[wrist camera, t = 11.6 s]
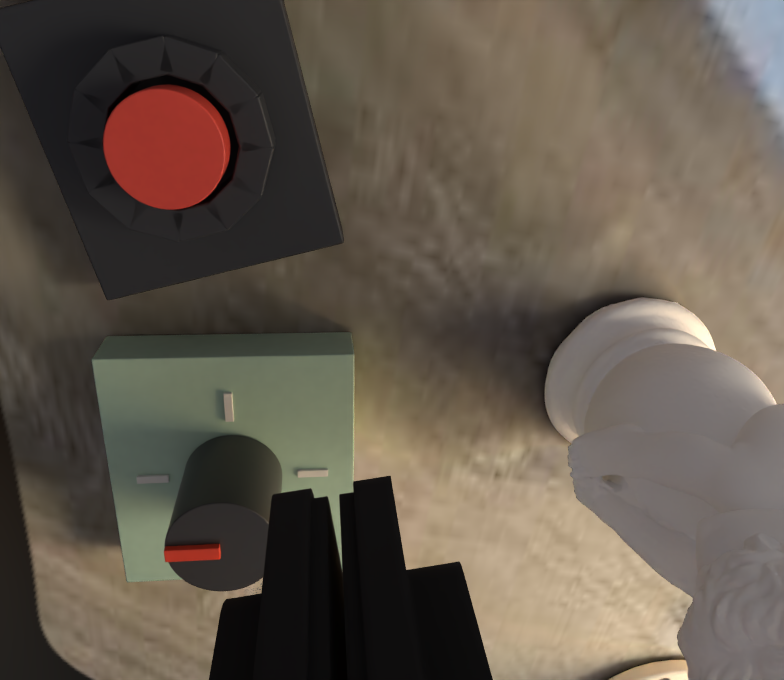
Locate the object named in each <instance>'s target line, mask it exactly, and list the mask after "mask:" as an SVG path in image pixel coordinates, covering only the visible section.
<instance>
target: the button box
mask: <svg viewBox="0 0 784 680" xmlns="http://www.w3.org/2000/svg"><path fill="white" fill-rule="evenodd" d="M0 48H1V50H2V52H3V55H4V57H5V59H6V62H7V64H8V67H9V69H10V71H11V74H12V76H13V78H14V81H15V83H16V86H17V88H18V90H19V93H20V95H21V97H22V100H23V102H24V105H25V107H26V109H27V112H28V114H29V116H30V119H31V121H32V124H33V126H34V128H35V131H36V133H37V135H38V138H39V140H40V142H41V145H42V147H43V150H44V152H45V154H46V157H47V159H48V161H49V164H50V166H51V169H52V171H53V173H54V176H55V178H56V180H57V183H58V185H59V188H60V190H61V192H62V195H63V197H64V199H65V202H66V204H67V207H68V209H69V211H70V214H71V216H72V218H73V221H74V223H75V226H76V228H77V230H78V233H79V235H80V237H81V240H82V242H83V245H84V247H85V249H86V252H87V254H88V256H89V259H90V261H91V264H92V266H93V268H94V271H95V273H96V275H97V278H98V280H99V282H100V285H101V287H102V290H103V292H104V294H105V297H106V299H107V300H113V299H117V298H121V297H125V296H129V295H134V294H138V293H142V292H146V291H150V290H154V289H158V288H162V287H166V286H170V285H174V284H179V283H183V282H187V281H191V280H195V279H199V278H203V277H207V276H211V275H215V274H219V273H224V272H228V271H232V270H236V269H240V268H244V267H248V266H252V265H256V264H260V263H264V262H269V261H273V260H277V259H281V258H285V257H289V256H293V255H297V254H301V253H305V252H309V251H314V250H318V249H322V248H326V247H330V246H334V245H338V244H342V243H344V237H343V231H342V226H341V222H340V218H339V214H338V210H337V207H336V203H335V199H334V195H333V191H332V187H331V183H330V179H329V175H328V171H327V168H326V164H325V160H324V156H323V152H322V148H321V144H320V140H319V136H318V132H317V129H316V125H315V121H314V117H313V113H312V109H311V105H310V101H309V97H308V93H307V90H306V86H305V82H304V78H303V74H302V70H301V66H300V62H299V58H298V54H297V51H296V47H295V43H294V39H293V35H292V31H291V27H290V23H289V19H288V15H287V12H286V8H285V4H284V0H31V1H27V2H23V3H19V4H15V5H11V6H7V7H2V8H0ZM166 84H170V85H178V86H182V87H185V88H188V89H191V90H193V91H195V92H197V93H199V94H200V95H202V96H203V97H204V98H206V99H207V100H208V101H209V102H210V103H211V104H212V105H213V106H214V107H215V108H216V109H217V111H218V112H219V113H220V115H221V116H222V118H223V120H224V122H225V124H226V127H227V130H228V133H229V137H230V158H229V162H228V166H227V168H226V171H225V173H224V175H223V176H222V178H221V180H220V182H219V183H218V185H217V186H216V188H215V189H214V190H213V192H212V193H211V194H210V195H209V196H208V197H206V198H205V199H204V200H202V201H201V202H199V203H197V204H195V205H193V206H190V207H187V208H183V209H176V210H166V209H159V208H154V207H151V206H148V205H146V204H144V203H141V202H139V201H138V200H136V199H135V198H133V197H132V196H130V195H129V194H128V193H127V192H125V191H124V190H123V189H122V188H121V187H120V185H119V184H118V183H117V182H116V180H115V179H114V177H113V176H112V174H111V172H110V170H109V168H108V166H107V163H106V160H105V156H104V151H103V134H104V129H105V125H106V123H107V120H108V118H109V116H110V114H111V112H112V111H113V110H114V108H115V107H116V106H117V105H118V104H119V103H120V102H121V101H122V100H123V99H125V98H126V97H128V96H129V95H131V94H133V93H136V92H138V91H141V90H143V89H146V88H149V87H152V86H156V85H166Z"/></svg>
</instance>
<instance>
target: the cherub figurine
mask: <svg viewBox="0 0 784 680" xmlns="http://www.w3.org/2000/svg"><path fill="white" fill-rule="evenodd" d="M679 304H680V303H677V302H676V303H675V302H674V301H671V302H670V301H666V300H661V299H651V298H645V297H642V298H641V297H640V298H636V299H632V300H627V301H624V302H618V303H616V304H610V305H609V306H606V307H602V308H601V309H599V310H598V311H597V310H596V311H595V312H594V313H592V314H591V315H589V316H587V317H586V318H585V319H584V320H583V321H582V323H579V325H578V327H576V328H575V329H574V330H573V331H572V333H571V334H570V335H569V336H568V337H567V338H566V339H565V340H563V343H561V344H560V345H559V348H558V349H557V350H556V351H555V353H554V356H553V357H552V359H551V362H550V365H549V366H548V373H547V377H546V382H545V391H544V393H545V405H546V410H547V413H548V416H549V418H550V421H551V422H552V424H553V426H554V427H555V429H556V430H557V431H558V432H559V433H560V434H561V435H562V436H563V437H564V438H565V439H566V440H567V441H569V442H570V443H572V445H570V446H568V451H569V455H568V466H569V467H571V468H572V472H571V473H570V476H571V477H572V478H573V485H574V492H575V494H576V498H577V499H578V500H579V501H580V502H581V503H582V504H583V505H585V506H586V507H587V508H589V509H590V510H591V511H593V512H594V513H595V514H596V515H597V516H598V517H599V518H600V519H601V520H602V521H603V522H604V523H606V524H607V525H608V526H610V527H611V528H612V529H613V530H614V531H615V532H616V533H617V534H618V535H619V536H620V537H621V538H622V539H623V541H624V542H625V543H627V545H629V546H630V547H631V548H632V549H633V550H634V551H635V552H636V553H637V554H638V555H639V556H640V557H641V558H642V559H643V560H644V561H645V562H646V563H647V564H649V565H650V566H651V567H652V568H653V569H654V570H655V571H656V572H657V573H658V574H660V575H661V576H662V577H663V578H665V579H666V580H667V581H669V582H670V583H671V584H672V585H674V586H676V587H678V588H679V589H681V590H683V591H684V592H685V593H687V594H688V595H690V596H691V597H693V602H692V604H691V605H690V607H689V608H688V610H687V614H686V617H685V619H684V622H683V625H682V626H681V628H680V630H679V631H678V635H677V639H678V646H679V648H680V650H681V652H682V654H683V656H684V658H685V659H686V663H687V666H688V674H687V676H688V679H689V680H784V404H778V405H777V404H776V402H775V400H774V398H773V396H772V395H771V393H770V391H769V390H768V389H767V387H766V386H765V384H764V383H763V382H762V381H761V380H760V379H759V377H758V376H757V375H756V374H755V373H754V372H752V371H751V370H750V369H749V368H747V367H746V366H745V365H743V364H742V363H740V362H739V361H737V360H735V359H734V358H732V357H730V356H728V355H725V354H723V353H721V352H718V351H716V349H715V347H714V343H713V340H712V338H711V335H710V333H709V331H708V329H707V328H706V327H705V325H704V324H703V322H702V321H701V320H700V319H699V318H698V317H697V316H695V315H694V314H693V313H692V312H691V311H689V310H688V309H686V308H685V307H683V306H681V305H679Z"/></svg>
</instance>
